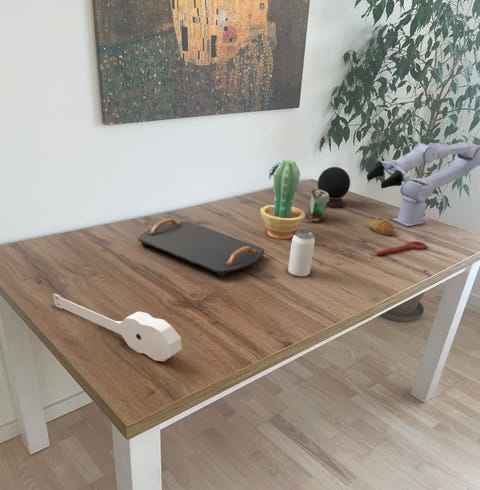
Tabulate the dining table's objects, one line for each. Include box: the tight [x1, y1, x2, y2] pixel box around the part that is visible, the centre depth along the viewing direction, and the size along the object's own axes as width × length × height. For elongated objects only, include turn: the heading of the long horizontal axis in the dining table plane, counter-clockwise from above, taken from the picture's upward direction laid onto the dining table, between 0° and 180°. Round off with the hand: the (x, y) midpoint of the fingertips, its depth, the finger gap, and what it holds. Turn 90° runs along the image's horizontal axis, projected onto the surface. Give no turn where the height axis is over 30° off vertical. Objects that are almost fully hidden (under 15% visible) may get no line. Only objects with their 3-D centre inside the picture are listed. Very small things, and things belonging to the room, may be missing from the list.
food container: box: [308, 187, 329, 224], centre depth 181 cm, size 12×6×10 cm, turn 179°
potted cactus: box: [260, 159, 306, 240], centre depth 161 cm, size 15×15×25 cm
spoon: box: [376, 241, 427, 257], centre depth 162 cm, size 23×5×2 cm, turn 122°
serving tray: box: [137, 218, 265, 280], centre depth 148 cm, size 39×23×6 cm, turn 53°
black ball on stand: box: [317, 166, 351, 209], centre depth 198 cm, size 13×13×15 cm
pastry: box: [370, 217, 395, 236], centre depth 176 cm, size 9×7×4 cm
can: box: [287, 230, 316, 278], centre depth 139 cm, size 6×6×12 cm
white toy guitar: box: [52, 293, 183, 362], centre depth 107 cm, size 38×8×4 cm
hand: (374, 181), depth 171 cm, fingers open, 7 cm apart
